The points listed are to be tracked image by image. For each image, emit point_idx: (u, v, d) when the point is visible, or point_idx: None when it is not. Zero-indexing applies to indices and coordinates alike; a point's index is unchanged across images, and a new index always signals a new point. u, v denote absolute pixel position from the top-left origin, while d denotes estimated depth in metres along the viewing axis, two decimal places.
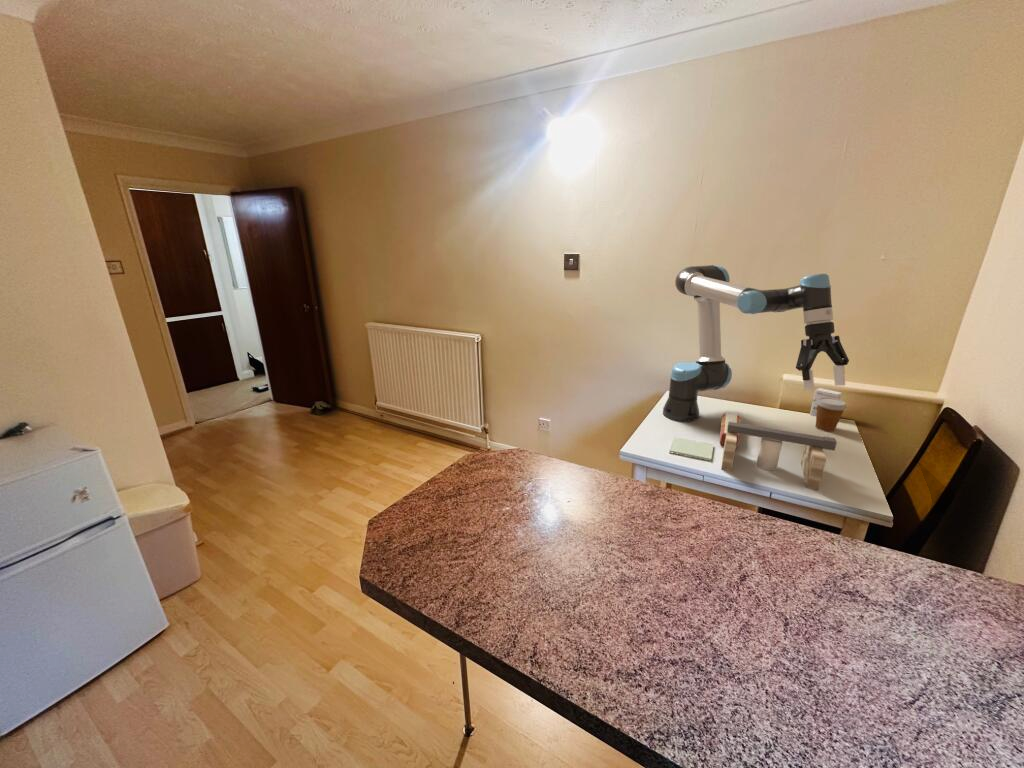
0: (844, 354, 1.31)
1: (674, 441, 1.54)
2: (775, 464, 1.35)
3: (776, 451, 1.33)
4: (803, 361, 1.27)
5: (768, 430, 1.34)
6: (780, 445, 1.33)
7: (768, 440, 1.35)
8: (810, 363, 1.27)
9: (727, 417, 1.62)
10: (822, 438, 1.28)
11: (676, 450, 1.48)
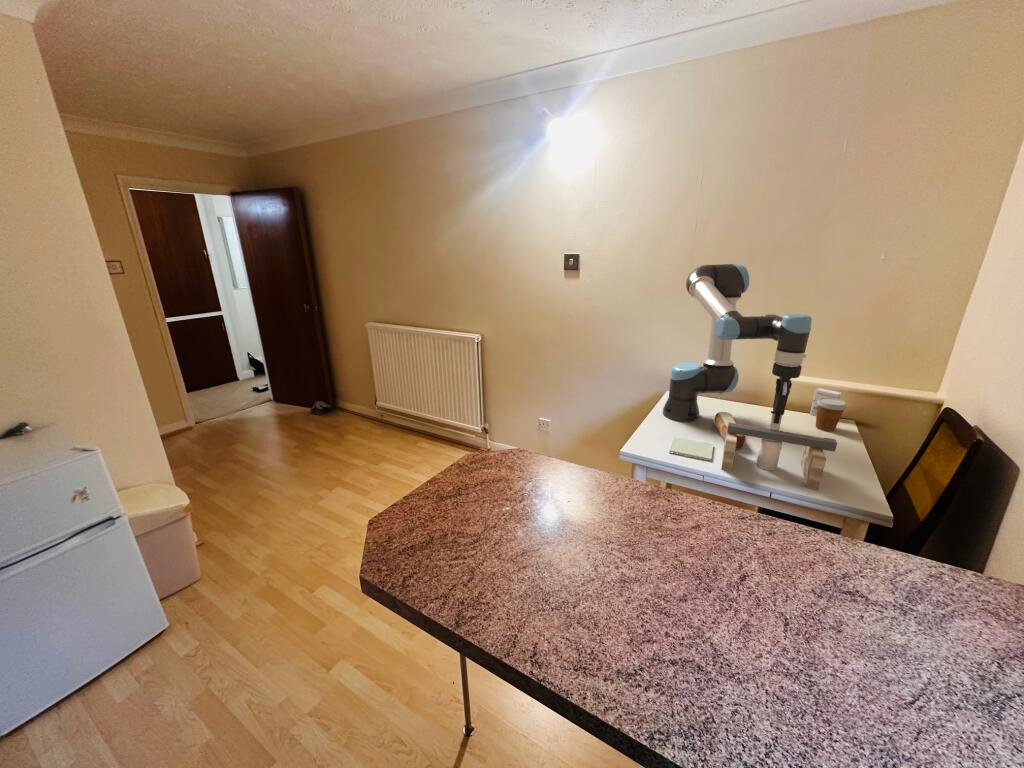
0: None
1: (674, 441, 1.54)
2: (775, 464, 1.35)
3: (776, 451, 1.33)
4: (783, 410, 1.28)
5: (768, 430, 1.34)
6: (780, 445, 1.33)
7: (768, 440, 1.35)
8: None
9: (723, 417, 1.62)
10: (822, 439, 1.27)
11: (676, 450, 1.48)
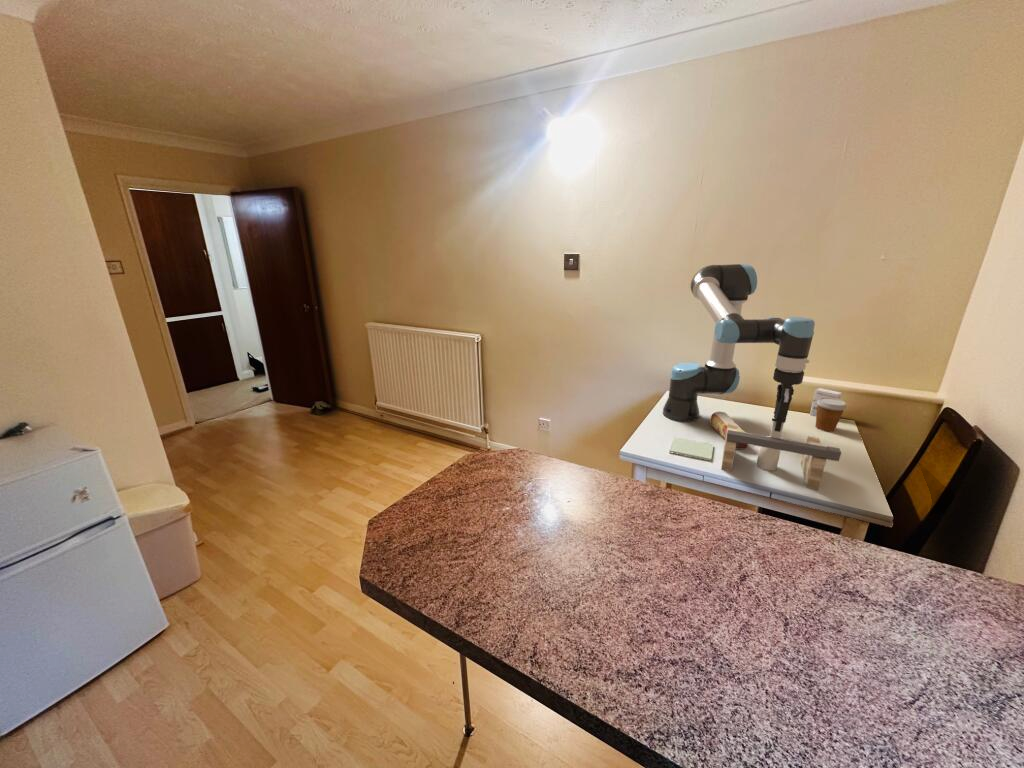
0: None
1: (674, 441, 1.54)
2: (775, 464, 1.35)
3: (776, 451, 1.33)
4: (784, 417, 1.23)
5: (769, 439, 1.28)
6: None
7: None
8: None
9: (721, 417, 1.62)
10: (826, 448, 1.22)
11: (676, 450, 1.48)
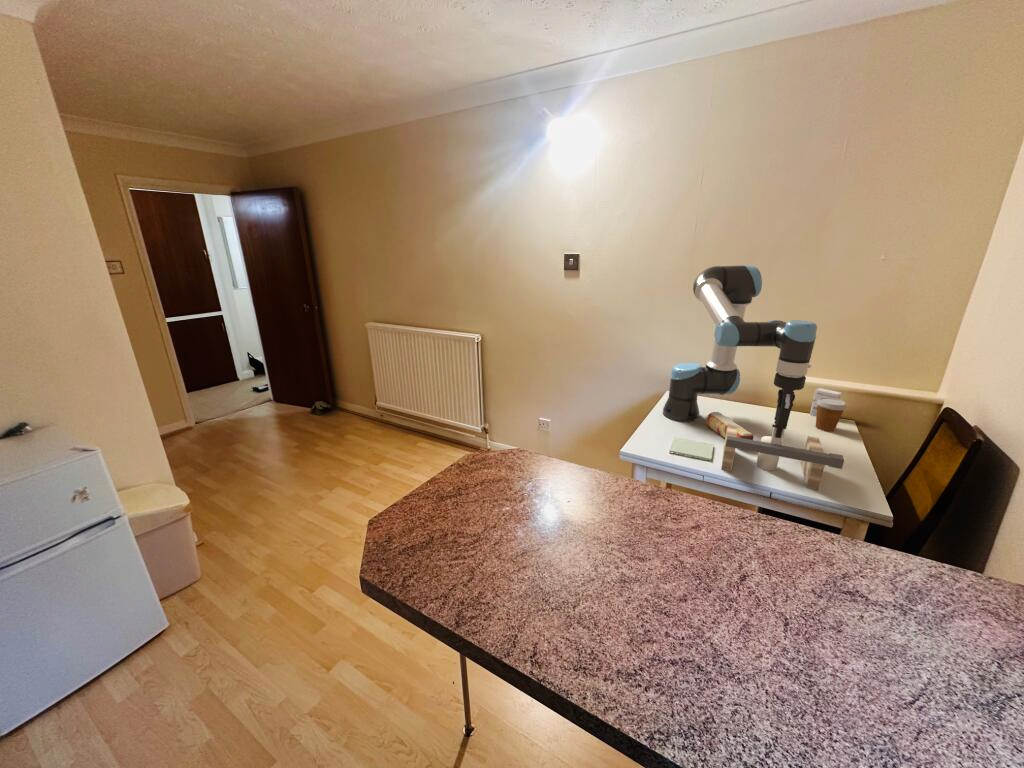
0: None
1: (674, 441, 1.54)
2: (775, 464, 1.35)
3: None
4: (785, 423, 1.19)
5: (770, 445, 1.24)
6: None
7: (768, 440, 1.35)
8: None
9: (718, 417, 1.62)
10: (828, 455, 1.18)
11: (676, 450, 1.48)
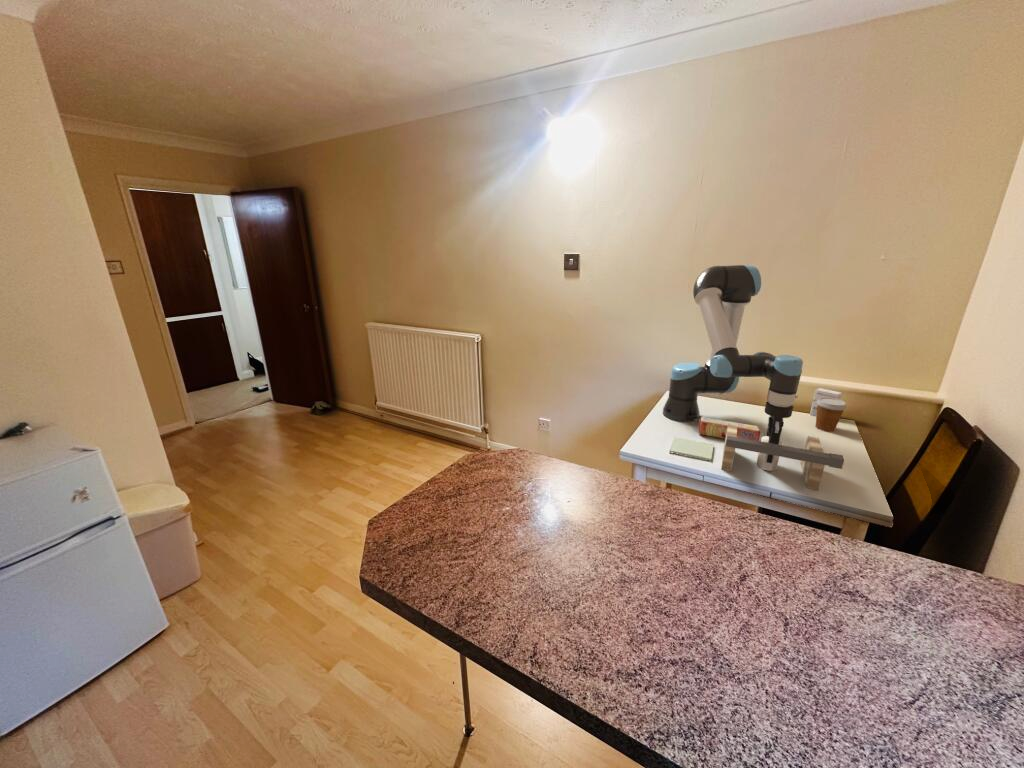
0: None
1: (674, 441, 1.54)
2: (775, 464, 1.35)
3: None
4: None
5: (770, 445, 1.24)
6: None
7: (768, 440, 1.35)
8: None
9: (715, 422, 1.58)
10: (828, 455, 1.18)
11: (676, 450, 1.48)
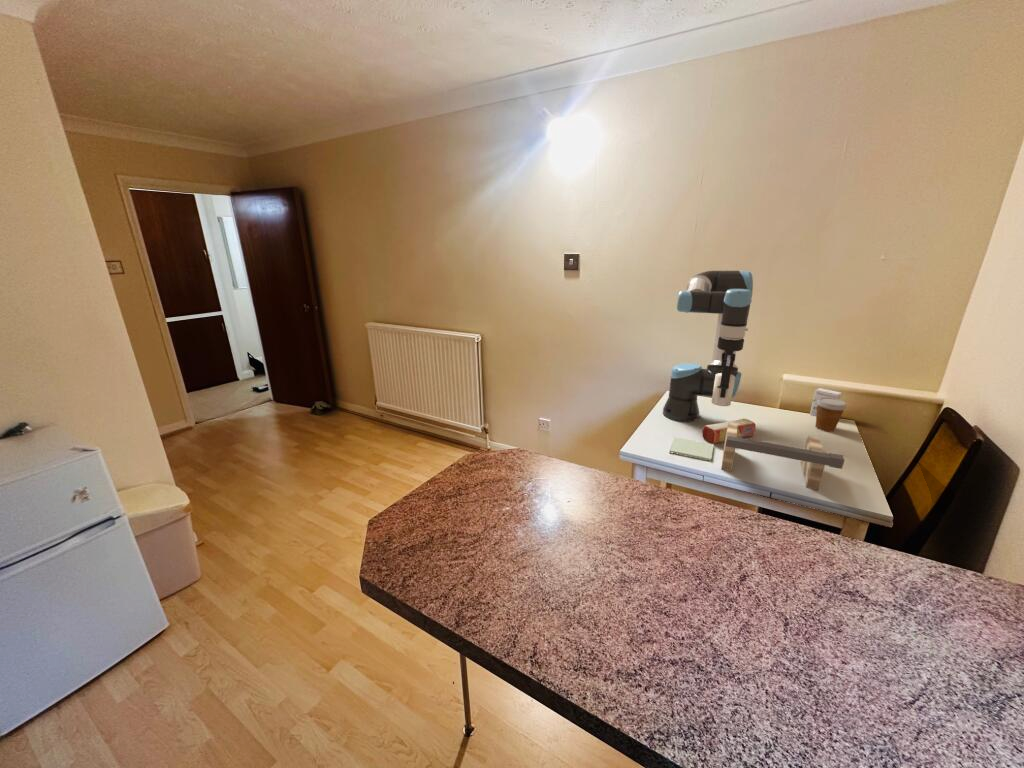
0: None
1: (674, 441, 1.54)
2: (728, 399, 1.37)
3: (729, 386, 1.35)
4: (728, 382, 1.31)
5: (770, 445, 1.24)
6: (733, 380, 1.34)
7: None
8: None
9: (723, 426, 1.54)
10: (828, 455, 1.18)
11: (676, 450, 1.48)
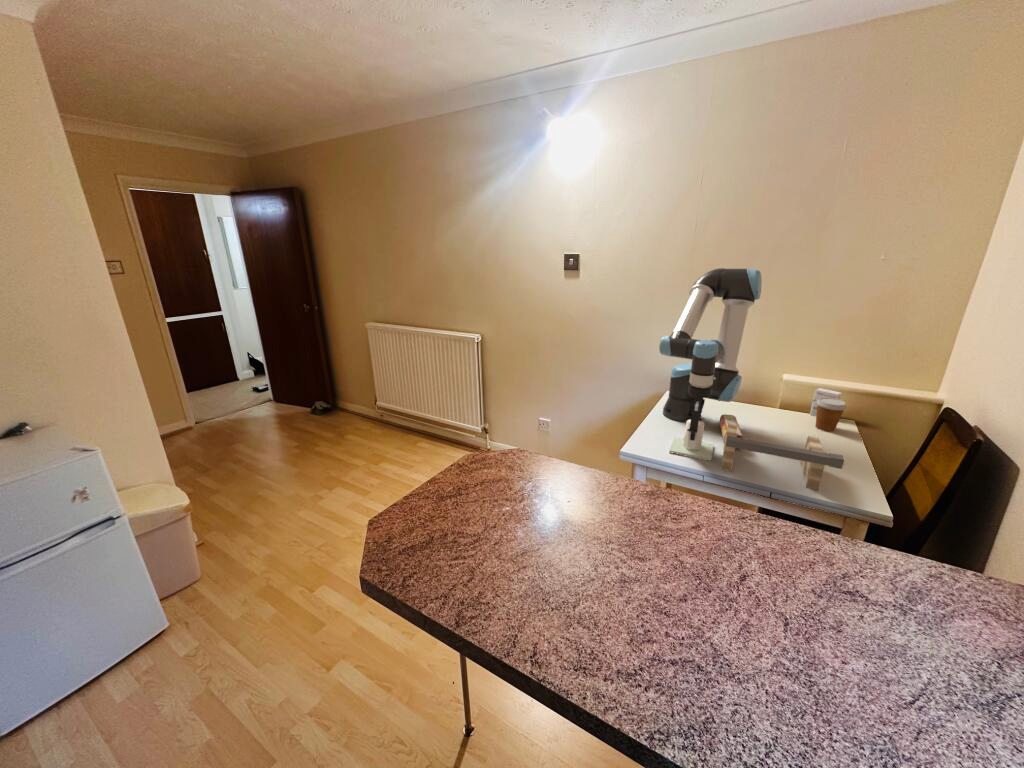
0: None
1: (674, 441, 1.54)
2: (698, 445, 1.46)
3: (698, 432, 1.45)
4: (696, 426, 1.39)
5: (770, 445, 1.24)
6: (702, 427, 1.44)
7: None
8: None
9: (737, 429, 1.52)
10: (828, 455, 1.18)
11: (676, 450, 1.48)
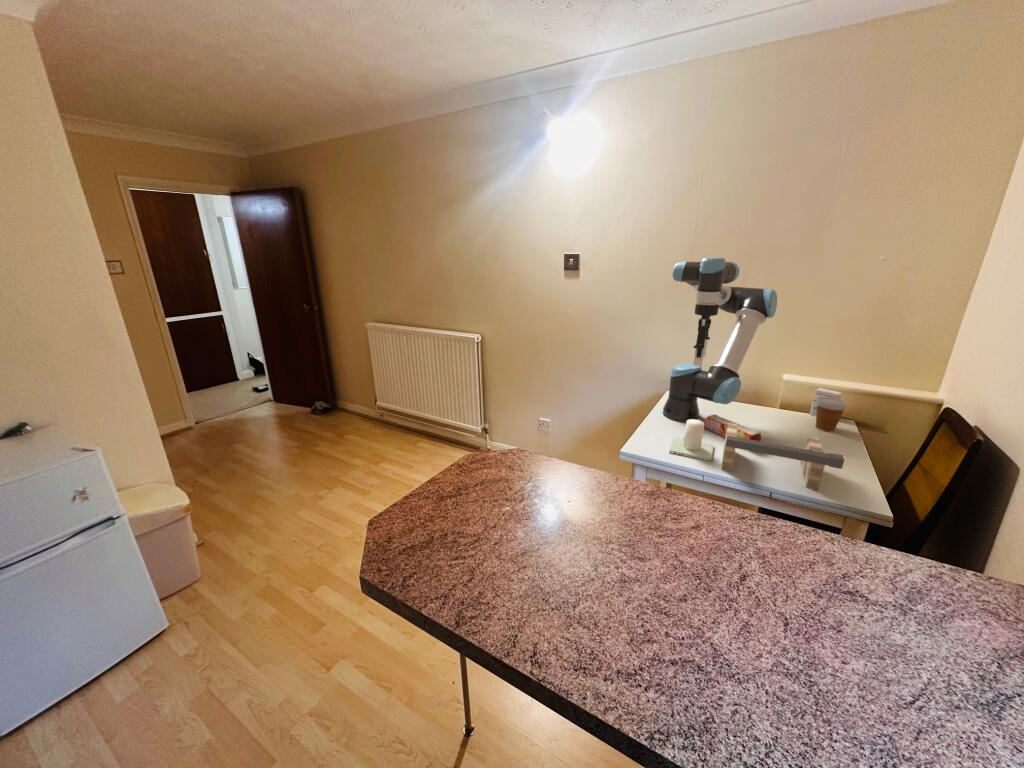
0: (708, 330, 1.52)
1: (674, 441, 1.54)
2: (698, 445, 1.46)
3: (698, 432, 1.45)
4: (703, 341, 1.37)
5: (770, 445, 1.24)
6: (702, 427, 1.44)
7: (692, 422, 1.47)
8: (704, 342, 1.40)
9: (746, 427, 1.53)
10: (828, 455, 1.18)
11: (676, 450, 1.48)
